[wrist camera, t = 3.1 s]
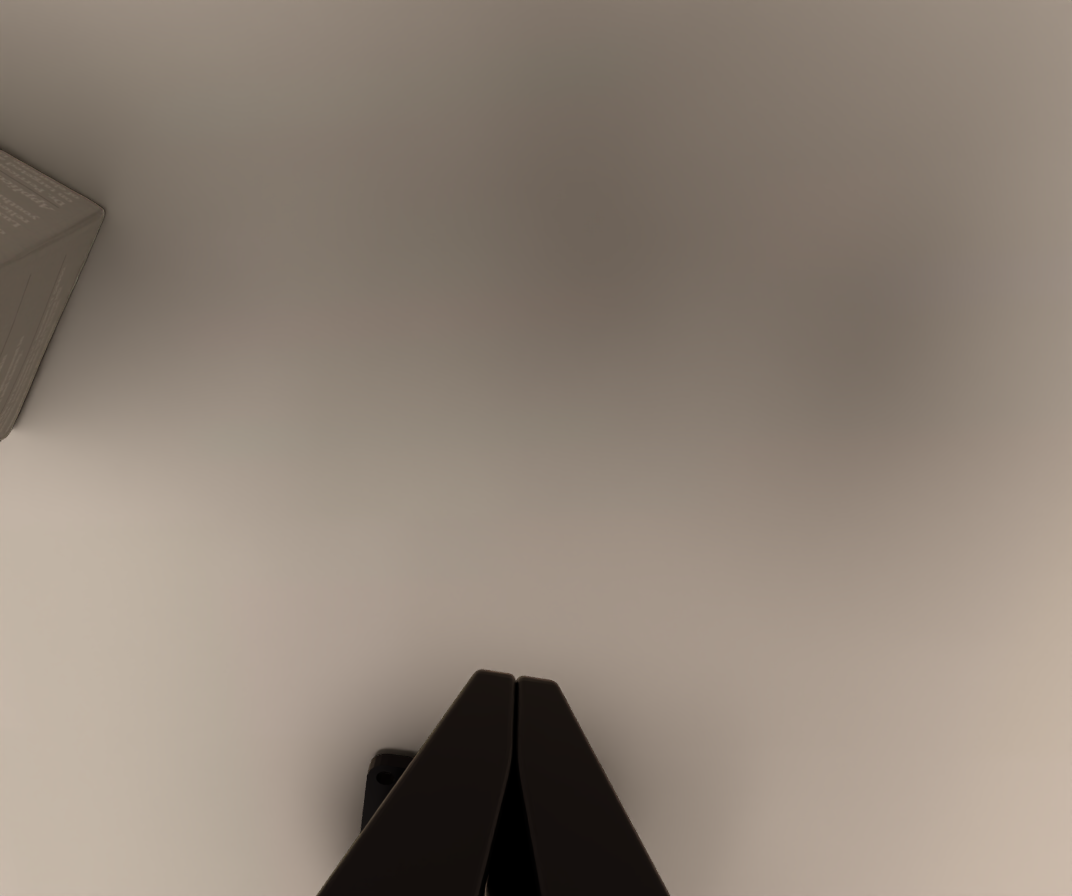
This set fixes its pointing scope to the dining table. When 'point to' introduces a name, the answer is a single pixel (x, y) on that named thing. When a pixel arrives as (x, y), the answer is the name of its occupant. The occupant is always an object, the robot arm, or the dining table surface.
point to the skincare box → (35, 270)
